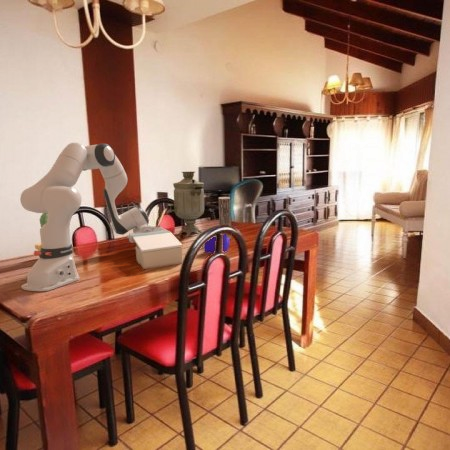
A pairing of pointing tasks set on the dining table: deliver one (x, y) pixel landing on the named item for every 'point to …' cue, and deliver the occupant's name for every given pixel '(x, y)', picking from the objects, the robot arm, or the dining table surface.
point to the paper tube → (224, 212)
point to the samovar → (188, 201)
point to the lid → (156, 241)
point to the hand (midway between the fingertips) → (152, 238)
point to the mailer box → (159, 257)
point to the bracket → (210, 244)
